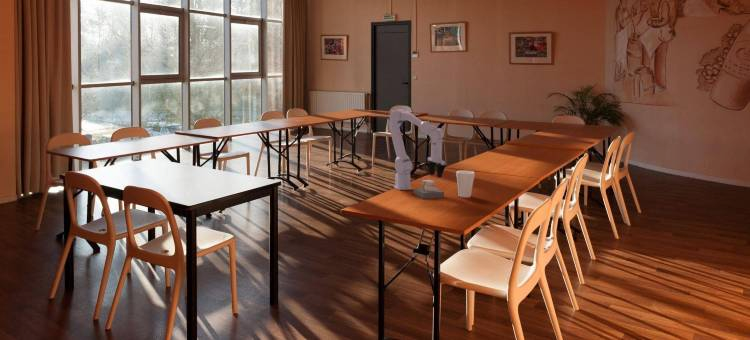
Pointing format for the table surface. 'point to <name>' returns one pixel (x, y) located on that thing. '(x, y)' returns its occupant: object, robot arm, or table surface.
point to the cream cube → (428, 185)
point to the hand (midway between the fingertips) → (435, 176)
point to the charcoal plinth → (428, 193)
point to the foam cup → (465, 182)
